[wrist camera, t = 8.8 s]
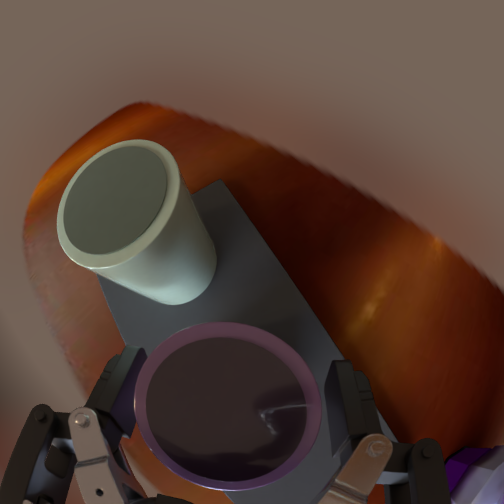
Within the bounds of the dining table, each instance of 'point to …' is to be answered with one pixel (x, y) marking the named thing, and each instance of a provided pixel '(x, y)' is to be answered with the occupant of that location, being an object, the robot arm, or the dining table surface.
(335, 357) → the placemat
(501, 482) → the potion bottle
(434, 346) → the dining table surface
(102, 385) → the robot arm
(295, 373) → the purple tumbler
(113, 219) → the celadon tumbler
